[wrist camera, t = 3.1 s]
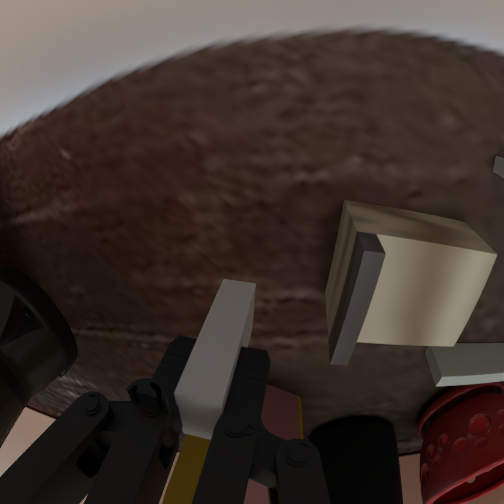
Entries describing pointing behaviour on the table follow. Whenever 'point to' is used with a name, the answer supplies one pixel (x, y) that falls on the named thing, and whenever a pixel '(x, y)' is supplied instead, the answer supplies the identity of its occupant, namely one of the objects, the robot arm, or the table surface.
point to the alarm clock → (195, 448)
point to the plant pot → (462, 444)
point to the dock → (468, 352)
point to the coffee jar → (360, 461)
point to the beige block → (402, 279)
